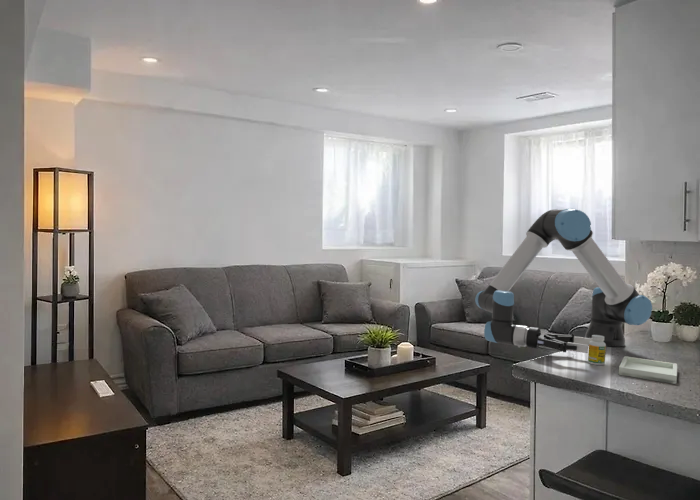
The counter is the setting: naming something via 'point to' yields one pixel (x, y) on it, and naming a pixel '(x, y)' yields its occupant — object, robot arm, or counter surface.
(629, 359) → the tray
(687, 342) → the counter surface
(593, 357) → the supplement bottle
